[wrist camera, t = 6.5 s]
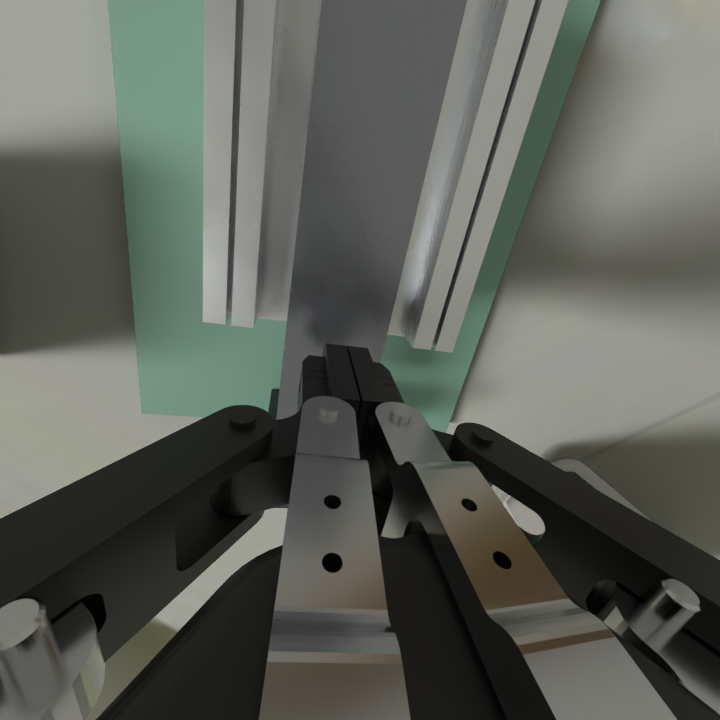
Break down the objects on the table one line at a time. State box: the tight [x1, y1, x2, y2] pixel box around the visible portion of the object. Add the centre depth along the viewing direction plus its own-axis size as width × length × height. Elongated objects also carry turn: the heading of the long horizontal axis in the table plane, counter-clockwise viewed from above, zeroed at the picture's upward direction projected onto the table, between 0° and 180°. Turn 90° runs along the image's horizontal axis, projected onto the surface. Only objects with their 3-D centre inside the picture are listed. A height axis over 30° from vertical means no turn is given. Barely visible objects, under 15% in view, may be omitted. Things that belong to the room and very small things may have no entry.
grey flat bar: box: [276, 0, 467, 420], centre depth 12 cm, size 21×4×1 cm, turn 169°
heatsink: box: [203, 0, 568, 508], centre depth 15 cm, size 24×10×7 cm, turn 169°
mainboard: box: [108, 0, 601, 433], centre depth 18 cm, size 28×20×1 cm
